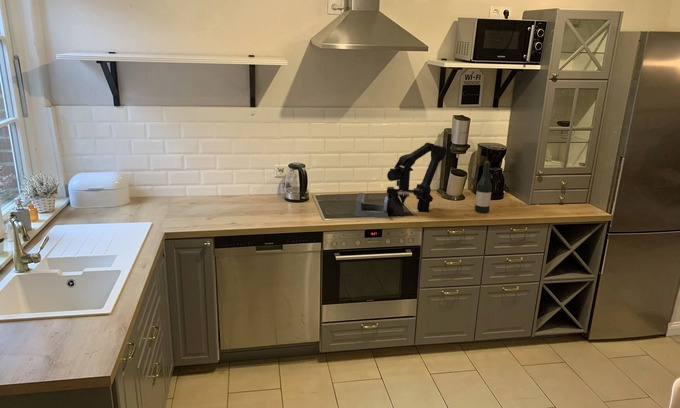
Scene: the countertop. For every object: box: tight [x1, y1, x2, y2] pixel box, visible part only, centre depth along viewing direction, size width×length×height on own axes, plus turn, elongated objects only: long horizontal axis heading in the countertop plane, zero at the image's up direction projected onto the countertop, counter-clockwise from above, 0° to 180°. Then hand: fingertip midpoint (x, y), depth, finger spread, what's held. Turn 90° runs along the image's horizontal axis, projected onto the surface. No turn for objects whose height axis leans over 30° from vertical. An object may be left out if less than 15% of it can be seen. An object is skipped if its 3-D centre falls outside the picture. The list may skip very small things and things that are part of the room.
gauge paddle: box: [383, 195, 388, 214], centre depth 290 cm, size 2×18×8 cm, turn 172°
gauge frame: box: [354, 192, 389, 219], centre depth 293 cm, size 18×17×9 cm
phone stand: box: [387, 192, 406, 216], centre depth 291 cm, size 9×6×12 cm, turn 48°
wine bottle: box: [474, 160, 493, 215], centre depth 298 cm, size 8×8×30 cm
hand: (402, 205), depth 291 cm, fingers closed
